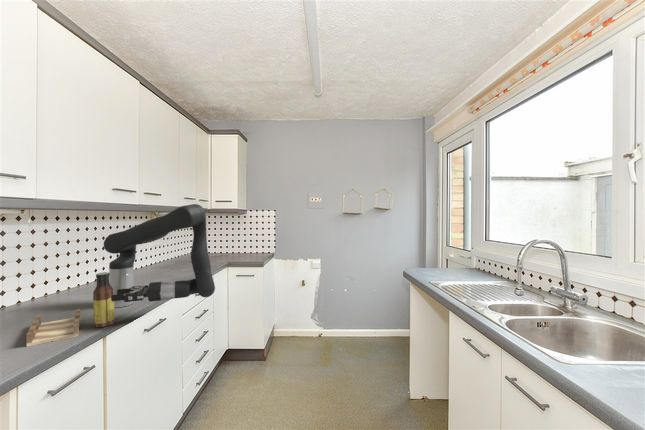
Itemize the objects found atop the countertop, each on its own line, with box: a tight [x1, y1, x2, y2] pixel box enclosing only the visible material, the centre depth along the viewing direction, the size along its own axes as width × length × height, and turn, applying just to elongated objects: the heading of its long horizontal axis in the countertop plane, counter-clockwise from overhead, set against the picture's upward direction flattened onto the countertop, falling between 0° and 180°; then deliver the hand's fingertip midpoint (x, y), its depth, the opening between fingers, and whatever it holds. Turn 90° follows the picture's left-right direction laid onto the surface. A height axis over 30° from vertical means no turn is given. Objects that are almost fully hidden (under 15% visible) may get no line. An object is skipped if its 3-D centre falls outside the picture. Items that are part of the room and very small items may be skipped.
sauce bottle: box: [92, 271, 116, 328], centre depth 108 cm, size 6×6×20 cm
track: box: [26, 308, 81, 347], centre depth 102 cm, size 20×12×4 cm, turn 39°
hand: (114, 295), depth 109 cm, fingers open, 8 cm apart
